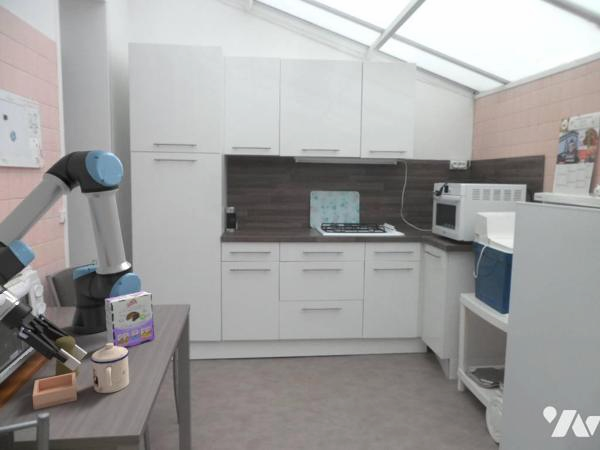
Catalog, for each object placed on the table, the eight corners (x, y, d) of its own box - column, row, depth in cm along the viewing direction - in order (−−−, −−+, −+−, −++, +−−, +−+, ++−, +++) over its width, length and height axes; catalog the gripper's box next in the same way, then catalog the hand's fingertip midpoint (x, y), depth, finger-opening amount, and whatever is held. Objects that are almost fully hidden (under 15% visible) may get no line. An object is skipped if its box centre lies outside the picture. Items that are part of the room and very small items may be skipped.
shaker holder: (36, 393, 111) (35, 380, 110) (76, 384, 115) (75, 372, 115) (33, 409, 103) (32, 396, 102) (76, 400, 107) (75, 386, 106)
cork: (68, 381, 117) (65, 342, 116) (49, 379, 118) (46, 341, 117) (84, 371, 123) (81, 334, 121) (65, 369, 124) (63, 333, 123)
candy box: (147, 335, 150) (144, 290, 148) (154, 340, 146) (152, 293, 144) (107, 346, 141) (103, 298, 139) (113, 351, 136) (110, 301, 135)
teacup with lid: (95, 380, 117) (92, 340, 116) (131, 375, 120) (128, 335, 119) (89, 402, 106) (86, 357, 104) (128, 396, 109) (126, 352, 107)
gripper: (14, 310, 124) (79, 358, 130) (-18, 333, 106) (60, 387, 111) (33, 291, 125) (97, 339, 130) (5, 311, 106) (81, 366, 112)
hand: (80, 361), depth 121 cm, fingers open, 6 cm apart
